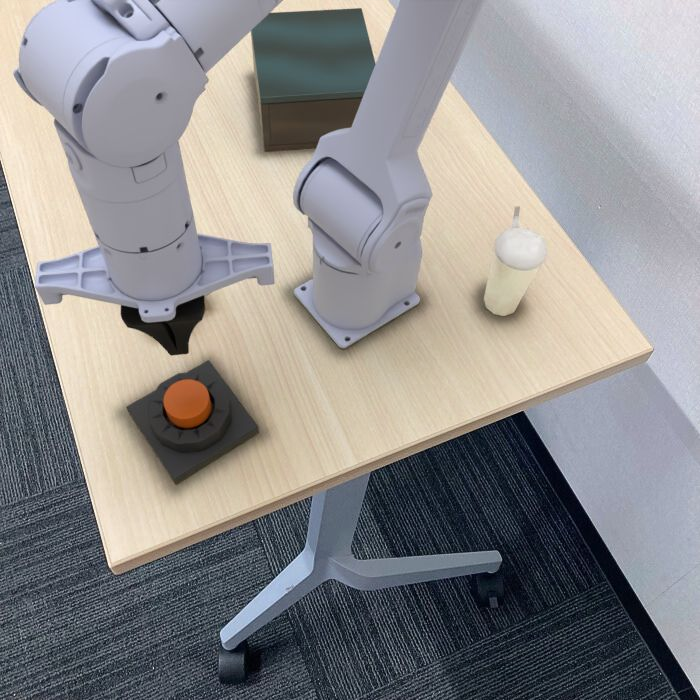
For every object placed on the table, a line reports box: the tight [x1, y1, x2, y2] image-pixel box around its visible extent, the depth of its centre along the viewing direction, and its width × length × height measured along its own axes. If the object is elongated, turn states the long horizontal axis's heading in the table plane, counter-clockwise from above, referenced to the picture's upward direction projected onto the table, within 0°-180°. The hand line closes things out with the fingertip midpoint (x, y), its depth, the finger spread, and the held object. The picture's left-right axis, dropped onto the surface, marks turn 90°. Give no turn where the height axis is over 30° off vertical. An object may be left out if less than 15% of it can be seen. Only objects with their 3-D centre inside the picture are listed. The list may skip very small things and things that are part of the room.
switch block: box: [126, 360, 260, 485], centre depth 59 cm, size 8×8×3 cm
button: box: [163, 379, 212, 428], centre depth 58 cm, size 4×4×2 cm
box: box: [250, 33, 363, 152], centre depth 80 cm, size 13×13×6 cm
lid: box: [250, 7, 376, 104], centre depth 77 cm, size 13×13×1 cm
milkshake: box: [483, 205, 548, 317], centre depth 65 cm, size 4×5×10 cm
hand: (178, 343), depth 52 cm, fingers closed
